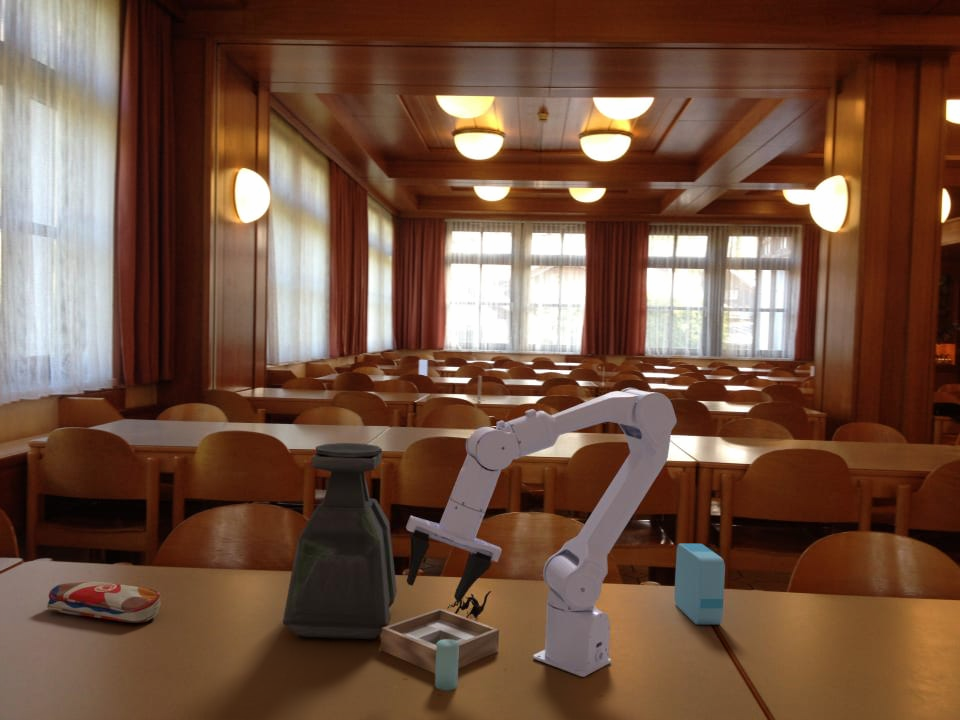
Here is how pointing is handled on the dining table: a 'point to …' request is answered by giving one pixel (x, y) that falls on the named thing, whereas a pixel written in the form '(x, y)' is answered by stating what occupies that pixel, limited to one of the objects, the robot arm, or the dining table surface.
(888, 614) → the dining table surface
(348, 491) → the dark faceted flask
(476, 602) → the creature
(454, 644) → the peg
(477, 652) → the box
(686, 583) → the data package
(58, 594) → the pencil case
